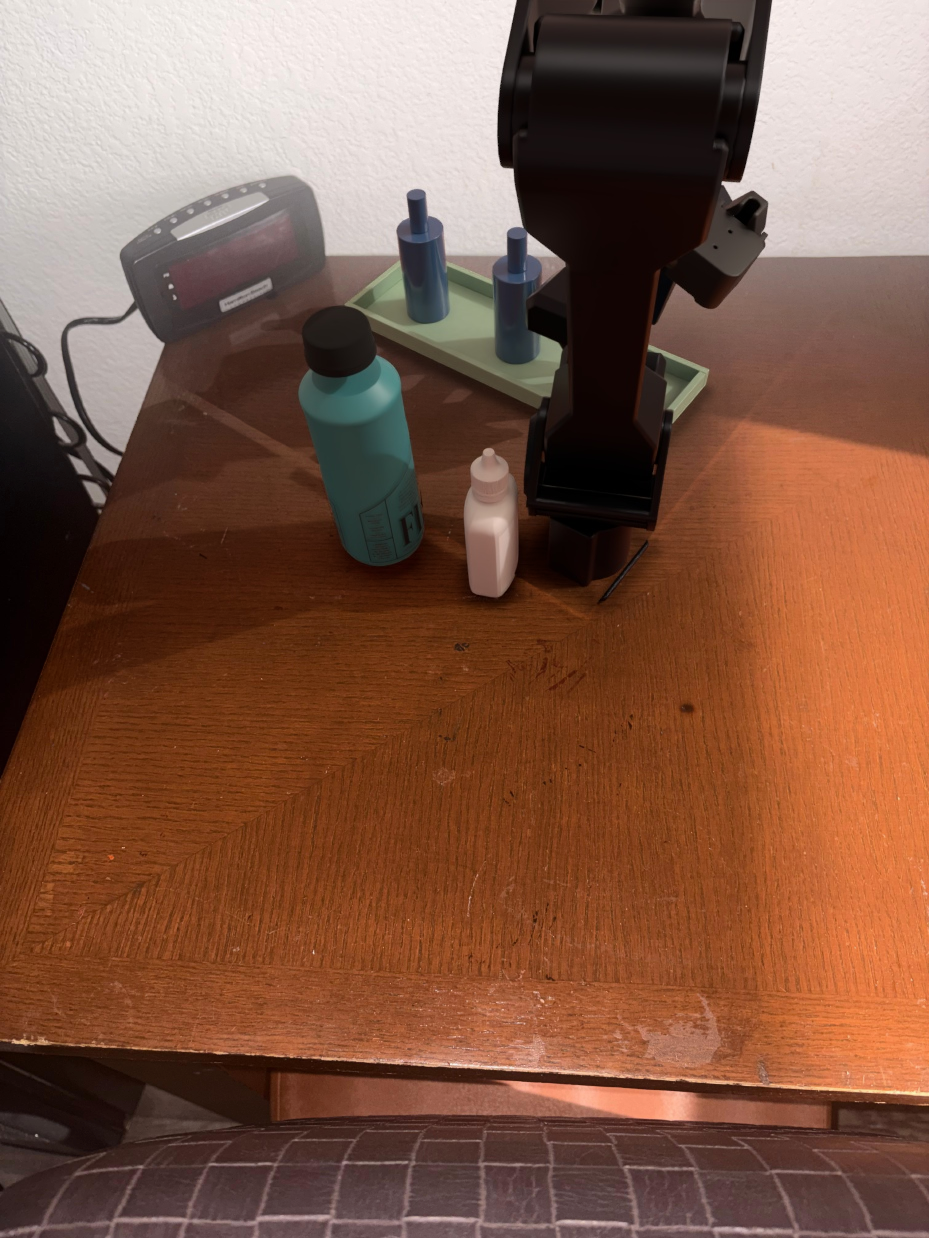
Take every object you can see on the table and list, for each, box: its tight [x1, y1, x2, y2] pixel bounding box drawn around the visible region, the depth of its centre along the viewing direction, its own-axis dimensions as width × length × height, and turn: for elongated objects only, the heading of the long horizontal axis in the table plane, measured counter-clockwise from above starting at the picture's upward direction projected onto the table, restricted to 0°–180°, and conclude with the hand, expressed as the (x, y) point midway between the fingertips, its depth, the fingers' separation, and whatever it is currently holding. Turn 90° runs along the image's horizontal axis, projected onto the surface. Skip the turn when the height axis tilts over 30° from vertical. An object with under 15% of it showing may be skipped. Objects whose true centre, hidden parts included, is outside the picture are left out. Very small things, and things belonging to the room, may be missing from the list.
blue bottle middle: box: [491, 226, 543, 364], centre depth 69 cm, size 4×4×11 cm
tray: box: [343, 259, 710, 425], centre depth 74 cm, size 10×31×2 cm, turn 53°
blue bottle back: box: [395, 188, 450, 324], centre depth 73 cm, size 4×4×11 cm
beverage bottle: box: [297, 305, 426, 567], centre depth 55 cm, size 6×7×20 cm
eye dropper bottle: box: [463, 447, 520, 598], centre depth 57 cm, size 4×6×12 cm
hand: (620, 354), depth 67 cm, fingers open, 9 cm apart
